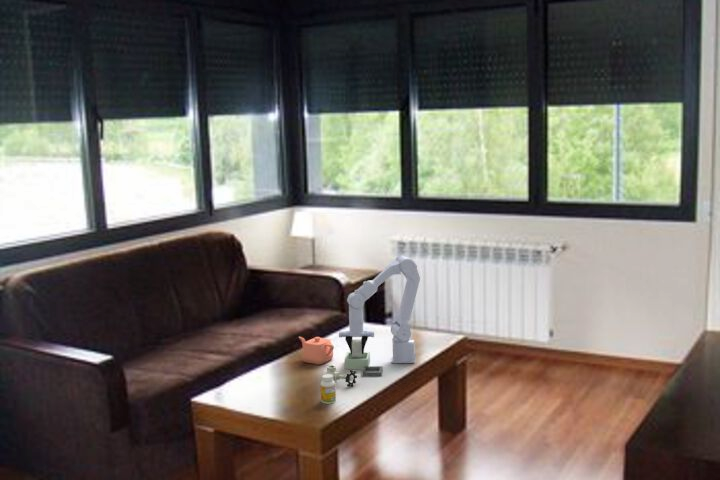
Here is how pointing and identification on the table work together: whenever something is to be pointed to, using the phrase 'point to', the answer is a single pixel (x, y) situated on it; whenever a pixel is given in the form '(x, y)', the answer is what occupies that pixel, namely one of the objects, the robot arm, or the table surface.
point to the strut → (357, 349)
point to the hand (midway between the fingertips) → (357, 353)
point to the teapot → (317, 350)
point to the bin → (357, 361)
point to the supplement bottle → (328, 389)
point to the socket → (372, 368)
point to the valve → (337, 375)
